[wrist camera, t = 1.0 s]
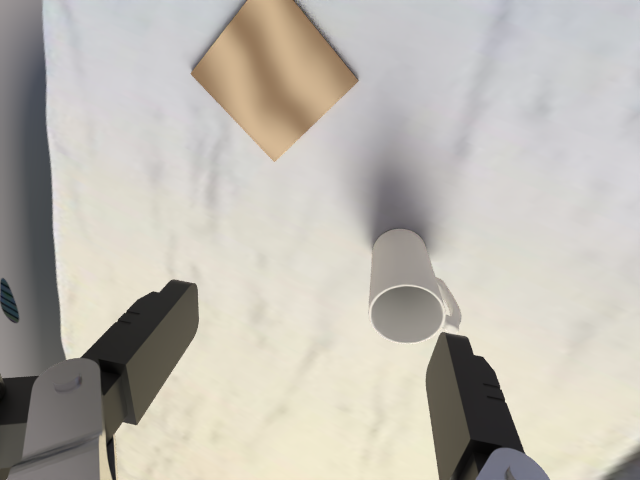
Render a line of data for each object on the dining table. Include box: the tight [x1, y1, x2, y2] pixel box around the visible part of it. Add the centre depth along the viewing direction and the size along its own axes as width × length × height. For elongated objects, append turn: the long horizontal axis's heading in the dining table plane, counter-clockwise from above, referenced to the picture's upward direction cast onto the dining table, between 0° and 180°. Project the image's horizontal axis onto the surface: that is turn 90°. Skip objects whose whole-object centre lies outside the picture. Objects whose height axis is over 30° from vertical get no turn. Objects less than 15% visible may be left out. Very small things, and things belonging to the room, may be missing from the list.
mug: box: [368, 229, 461, 344], centre depth 38 cm, size 10×7×12 cm, turn 64°
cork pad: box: [191, 0, 358, 162], centre depth 36 cm, size 12×12×1 cm
